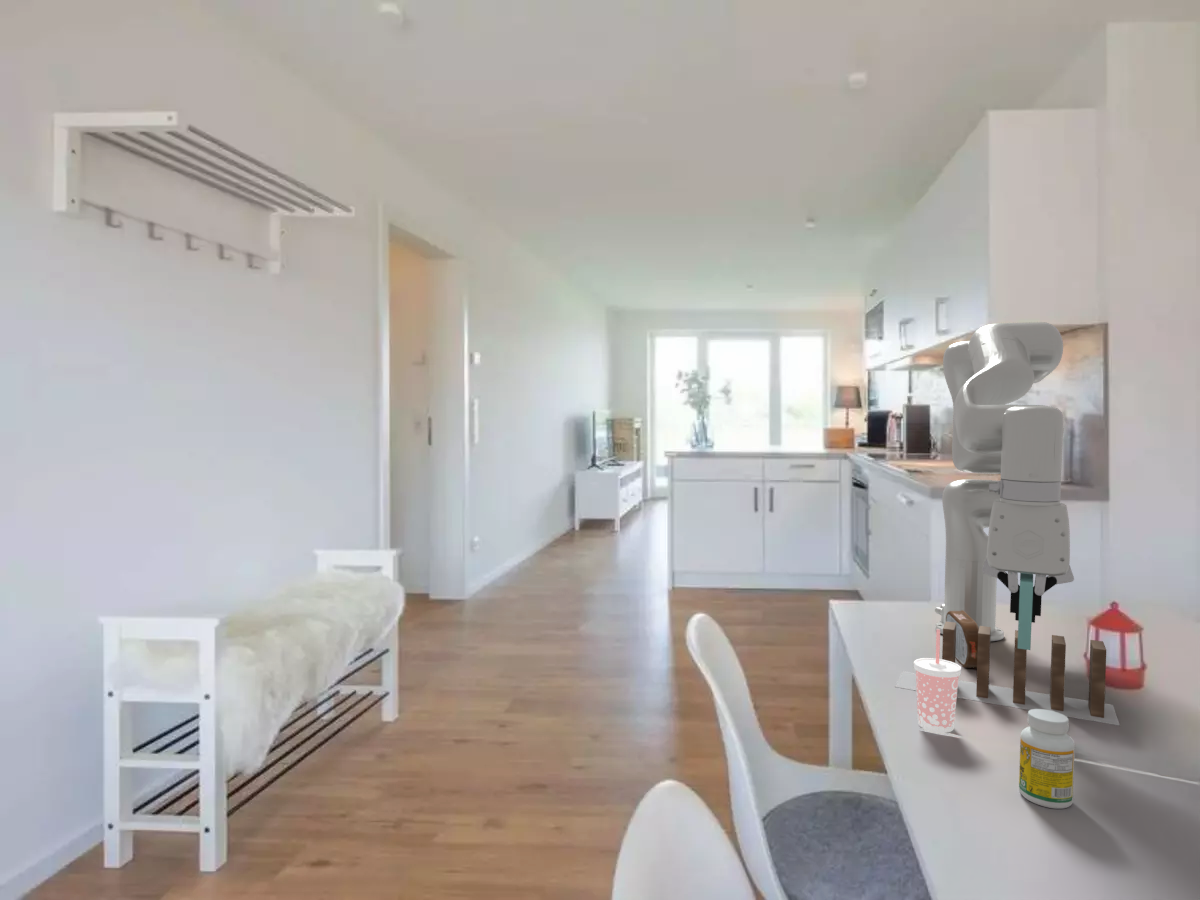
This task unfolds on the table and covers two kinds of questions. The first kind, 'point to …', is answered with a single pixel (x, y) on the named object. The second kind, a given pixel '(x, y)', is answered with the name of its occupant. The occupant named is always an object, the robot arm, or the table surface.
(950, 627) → the domino
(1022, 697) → the domino
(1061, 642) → the domino
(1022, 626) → the domino
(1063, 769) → the supplement bottle
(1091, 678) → the domino
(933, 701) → the beverage cup
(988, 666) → the domino
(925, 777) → the table surface
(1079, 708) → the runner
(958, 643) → the tin
